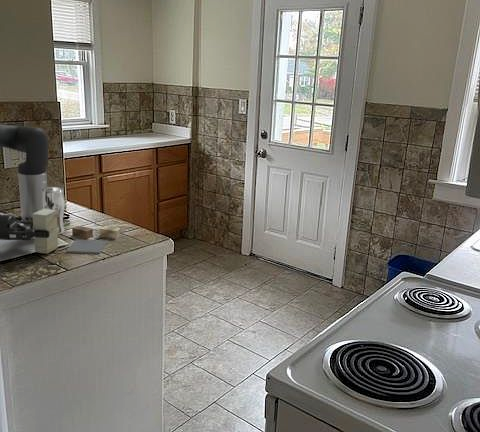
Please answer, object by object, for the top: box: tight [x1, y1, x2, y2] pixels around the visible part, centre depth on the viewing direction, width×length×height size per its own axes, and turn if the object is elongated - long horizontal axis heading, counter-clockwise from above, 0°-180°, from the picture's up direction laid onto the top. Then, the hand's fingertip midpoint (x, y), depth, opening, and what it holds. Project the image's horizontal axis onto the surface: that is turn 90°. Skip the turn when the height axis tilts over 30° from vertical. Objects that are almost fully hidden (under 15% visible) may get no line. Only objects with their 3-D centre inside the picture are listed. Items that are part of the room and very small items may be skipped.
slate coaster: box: [66, 239, 107, 255], centre depth 153 cm, size 10×10×1 cm
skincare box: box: [32, 209, 59, 254], centre depth 146 cm, size 6×4×12 cm
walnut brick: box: [71, 225, 94, 240], centre depth 162 cm, size 6×3×3 cm, turn 68°
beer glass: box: [42, 186, 66, 235], centre depth 162 cm, size 7×7×15 cm
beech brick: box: [99, 225, 122, 240], centre depth 163 cm, size 6×3×3 cm, turn 79°
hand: (53, 229), depth 146 cm, fingers closed on skincare box, 7 cm apart
